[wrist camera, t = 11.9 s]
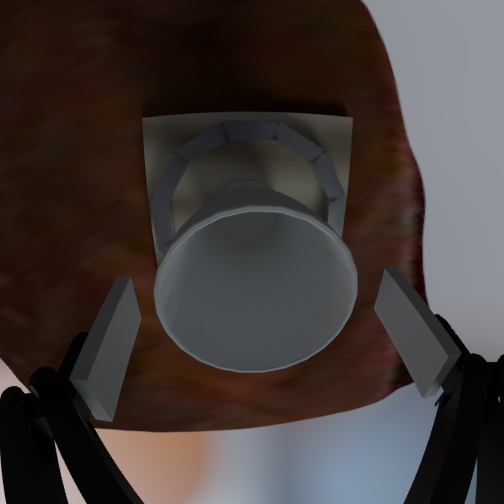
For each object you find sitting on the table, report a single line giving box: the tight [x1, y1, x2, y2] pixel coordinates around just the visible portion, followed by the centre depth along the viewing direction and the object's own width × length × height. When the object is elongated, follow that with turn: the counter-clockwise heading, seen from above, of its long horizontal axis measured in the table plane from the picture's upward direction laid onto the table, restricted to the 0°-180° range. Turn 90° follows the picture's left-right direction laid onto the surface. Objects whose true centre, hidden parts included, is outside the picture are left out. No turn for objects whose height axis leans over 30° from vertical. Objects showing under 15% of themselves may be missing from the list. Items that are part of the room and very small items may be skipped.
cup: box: [153, 180, 357, 372], centre depth 21 cm, size 10×10×14 cm
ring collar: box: [151, 121, 346, 255], centre depth 26 cm, size 16×16×2 cm
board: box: [142, 112, 353, 265], centre depth 27 cm, size 18×18×1 cm
